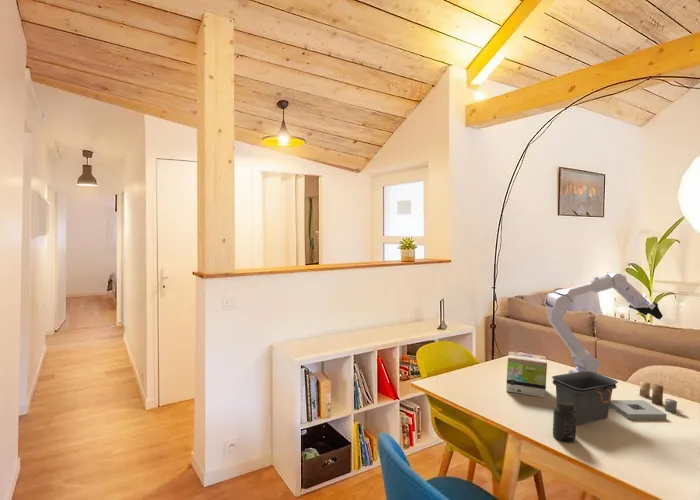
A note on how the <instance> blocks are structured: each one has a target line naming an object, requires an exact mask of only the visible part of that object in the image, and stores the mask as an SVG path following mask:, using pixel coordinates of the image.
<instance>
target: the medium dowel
mask: <svg viewBox="0 0 700 500" xmlns="http://www.w3.org/2000/svg"><path fill="white" fill-rule="evenodd" d="M650 395H651V383H650V382H648V381H644V380H643V381H642V380H640V381H639V396H640V397H642V398H650Z"/></svg>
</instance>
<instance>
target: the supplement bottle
mask: <svg viewBox="0 0 700 500" xmlns="http://www.w3.org/2000/svg"><path fill="white" fill-rule="evenodd" d="M557 407H558V408H557ZM573 410H574V404H573V403H572V402H570V401H568V400H558V402H557V401H556V407H555V409H553V417H552V418H553V420H552V436H553V437H554V439H556V440H558V441H560V442H561V443H562V442H563V443H573V442H575V441H576V439H577V437H576V436H577V425H576V422H577V415H576V413H575V412H574V411H573Z"/></svg>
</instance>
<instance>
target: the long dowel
mask: <svg viewBox="0 0 700 500" xmlns="http://www.w3.org/2000/svg"><path fill="white" fill-rule="evenodd" d="M651 390H652V393H651V404H653V405H656V406H657V405H658V406H662V405H663V399H664V386H663V385H662V384H658V383H657V384H656V383H655V384H652V388H651Z"/></svg>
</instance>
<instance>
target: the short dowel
mask: <svg viewBox="0 0 700 500" xmlns="http://www.w3.org/2000/svg"><path fill="white" fill-rule="evenodd" d="M664 406H665V407H664V411H665V412H667V413H670V414H677V407H678V401H676V400H675V399H672V398H666V399H665V404H664Z"/></svg>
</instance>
